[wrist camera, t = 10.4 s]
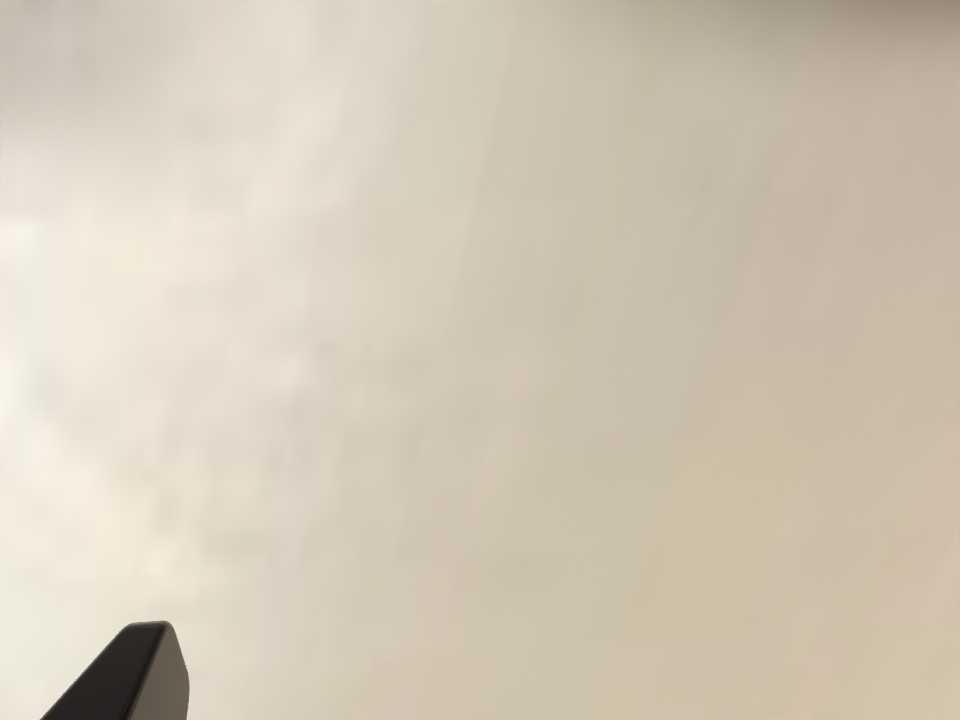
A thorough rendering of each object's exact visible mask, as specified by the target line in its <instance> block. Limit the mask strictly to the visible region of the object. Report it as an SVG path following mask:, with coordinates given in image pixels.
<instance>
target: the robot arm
mask: <svg viewBox="0 0 960 720" xmlns="http://www.w3.org/2000/svg"><path fill="white" fill-rule="evenodd" d="M188 702H189V677H188V672H187V669H186V665H185V662H184V659H183V656H182V652H181V649H180V646H179V643H178V640H177V636H176V633H175V630H174V628H173V626H172V625H171V624H170V623H169V622H167V621H151V622H137V623H131V624H129V625H127V626H126V627H124V628H123V629H122V630H121V631H120V632H119V633H118V634H117V635H116V636H115V637H114V639H113V640H112V641H111V642H110V643H109V644H108V645H107V646H106V647H105V649H104V650H103V651H102V652H101V653H100V654H99V655H98V656H97V657H96V658H95V660H94V661H93V662H92V663H91V664H90V665H89V666H88V667H87V668H86V670H85V671H84V672H83V673H82V674H81V675H80V676H79V677H78V678H77V679H76V681H75V682H74V683H73V684H72V685H71V686H70V687H69V688H68V689H67V691H66V692H65V693H64V694H63V695H62V696H61V697H60V698H59V699H58V700H57V702H56V703H55V704H54V705H53V706H52V707H51V708H50V709H49V710H48V711H47V713H46V714H45V715H44V716H43V717H42V718H41V719H40V720H186V718H187V710H188Z"/></svg>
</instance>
